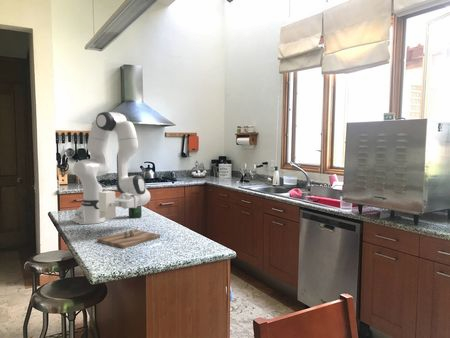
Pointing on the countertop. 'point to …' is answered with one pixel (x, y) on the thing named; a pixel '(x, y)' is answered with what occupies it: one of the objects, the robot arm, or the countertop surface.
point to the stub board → (128, 238)
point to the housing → (107, 204)
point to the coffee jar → (135, 212)
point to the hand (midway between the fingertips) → (105, 204)
